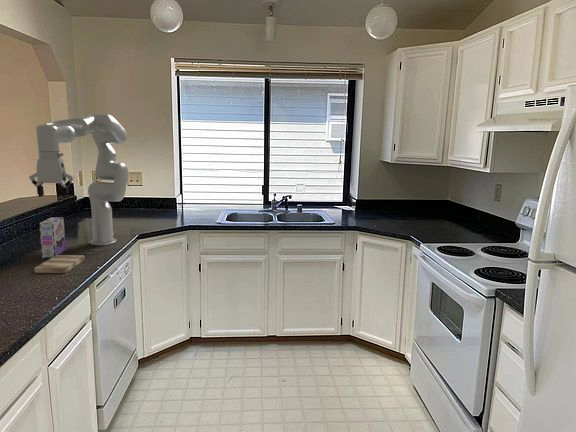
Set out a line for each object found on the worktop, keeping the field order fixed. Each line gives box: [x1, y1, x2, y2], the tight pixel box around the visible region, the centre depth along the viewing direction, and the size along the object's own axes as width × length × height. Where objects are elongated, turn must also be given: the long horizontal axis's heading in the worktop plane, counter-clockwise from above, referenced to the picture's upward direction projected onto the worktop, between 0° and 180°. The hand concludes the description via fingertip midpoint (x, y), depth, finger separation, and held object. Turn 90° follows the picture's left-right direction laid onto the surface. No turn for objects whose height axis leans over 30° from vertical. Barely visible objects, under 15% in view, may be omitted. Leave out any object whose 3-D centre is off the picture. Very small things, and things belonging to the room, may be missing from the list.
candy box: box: [39, 216, 67, 259], centre depth 189 cm, size 14×6×16 cm, turn 9°
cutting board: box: [34, 254, 85, 274], centre depth 174 cm, size 18×12×2 cm, turn 3°
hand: (53, 196), depth 173 cm, fingers open, 9 cm apart
